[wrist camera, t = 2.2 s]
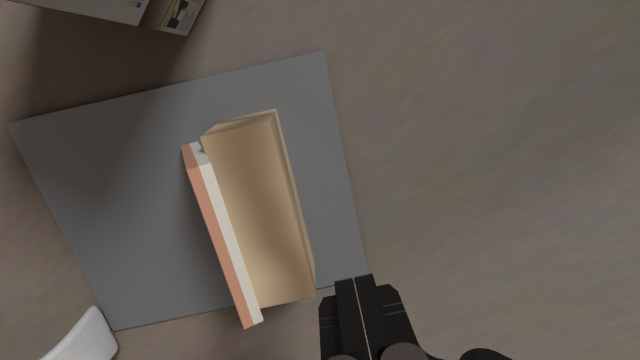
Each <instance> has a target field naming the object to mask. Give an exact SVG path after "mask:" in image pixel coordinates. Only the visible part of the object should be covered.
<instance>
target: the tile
mask: <svg viewBox="0 0 640 360" xmlns="http://www.w3.org/2000/svg"><path fill="white" fill-rule="evenodd" d="M180 147H181V151H182V155H183V158H184V162H185V166H186V170H187V173H188V176H189V178H190V181H191V184H192V187H193V189H194V192H195V195H196V198H197V200H198V203H199V206H200V209H201V211H202V214H203V217H204V220H205V222H206V225H207V228H208V231H209V234H210V236H211V239H212V242H213V245H214V247H215V250H216V253H217V256H218V258H219V261H220V264H221V267H222V269H223V272H224V275H225V278H226V280H227V283H228V286H229V289H230V291H231V294H232V297H233V300H234V302H235V305H236V308H237V311H238V313H239V316H240V319H241V322H242V324H243V327H244V330H245V329H247V328H249V327H251V326H253V325H255V324H258V323H260V322H262V321H264V320H263V317H262V314H261V311H260V308H259V305H258V302H257V299H256V296H255V293H254V290H253V287H252V284H251V281H250V278H249V275H248V272H247V269H246V266H245V263H244V260H243V257H242V254H241V251H240V248H239V245H238V242H237V239H236V236H235V233H234V230H233V227H232V224H231V222H230V219H229V216H228V213H227V210H226V207H225V204H224V201H223V198H222V195H221V192H220V189H219V186H218V183H217V180H216V177H215V174H214V171H213V168H212V165H211V162H210V161H209V159H208V157H207V156H206V154H205V152H204V151H203V149H202V148H201V146H200V144H199V143H198V141H197V142H193V143H190V144H186V145H183V146H180Z"/></svg>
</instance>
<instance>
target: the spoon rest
mask: <svg viewBox="0 0 640 360" xmlns="http://www.w3.org/2000/svg"><path fill="white" fill-rule="evenodd" d="M117 350H118V345H117V342H116V340H115V338H114V336H113V334H112V333H111V330H110V328H109V326H108V324H107V322H106V320H105V318H104V316H103V315H102V313H101V312H100V310H99V309H98V308H97V307H96V306H91V307H90V308H89V309H88V310H87V311H86V312H85V313H84V315H83V316H82V317H81V318H80V320H79V321H78V322H77V323H76V324H75V326H74V327H73V328H72V329H71V330H70V331H69V333H68V334H67V335H66V336H65V337H64V338H63V339H62V340H61V341H60V342H59V343H58V344H57V345H56V346H55V347H54V348H53V349H52V350H50V351H49V352H48V353H47V354H46V355H44V356H43V357H42V358H41V359H39V360H111V359H112V357H113V356H114V355H115V354H116V352H117Z"/></svg>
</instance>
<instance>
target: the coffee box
mask: <svg viewBox="0 0 640 360" xmlns="http://www.w3.org/2000/svg"><path fill="white" fill-rule="evenodd" d="M8 1H13V2H18V3H23V4H28V5H32V6H37V7H42V8H47V9H51V10H57V11H62V12H66V13H73V14H78V15H81V16H87V17H93V18H98V19H102V20H106V21H112V22H117V23H121V24H126V25H132V26H139V27H144V28H149V29H153V30H158V31H163V32H169V33H174V34H178V35H182V36H187V35H188V33H189V31H190V29H191V27H192V25H193V23H194V21H195V19H196V17H197V15H198V13H199V11H200V9H201V7H202V5H203V4H204V1H205V0H8Z"/></svg>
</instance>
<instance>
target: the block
mask: <svg viewBox="0 0 640 360" xmlns="http://www.w3.org/2000/svg"><path fill="white" fill-rule="evenodd" d="M200 139H201V142H202V145H203V148H204V151H205V154H206V156H207V157H208V159H209V161H210V162H211V165H212V168H213V171H214V174H215V177H216V180H217V183H218V186H219V189H220V192H221V195H222V198H223V201H224V204H225V207H226V210H227V213H228V216H229V219H230V222H231V224H232V227H233V230H234V233H235V236H236V239H237V242H238V245H239V248H240V251H241V254H242V257H243V260H244V263H245V266H246V269H247V272H248V275H249V278H250V281H251V284H252V287H253V290H254V293H255V296H256V299H257V302H258V305H259V308H260V309H261V308H266V307H270V306H275V305H280V304H285V303H289V302H294V301H299V300H304V299H308V298H313V297H316V283H315V265H314V255H313V251H312V247H311V243H310V239H309V235H308V231H307V227H306V223H305V219H304V216H303V212H302V208H301V204H300V200H299V196H298V192H297V188H296V184H295V180H294V177H293V173H292V169H291V165H290V161H289V157H288V153H287V149H286V145H285V141H284V138H283V134H282V130H281V126H280V122H279V118H278V114H277V110H276V109H272V110H268V111H263V112H259V113H254V114H250V115H246V116H241V117H237V118H232V119H228V120H223V121H219V122H218V123H217V124H216V125H214V126H213V127H212V128H211V129H209V130H208V131H207V132H205V133H204V134H203V135H202V136H200Z"/></svg>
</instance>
